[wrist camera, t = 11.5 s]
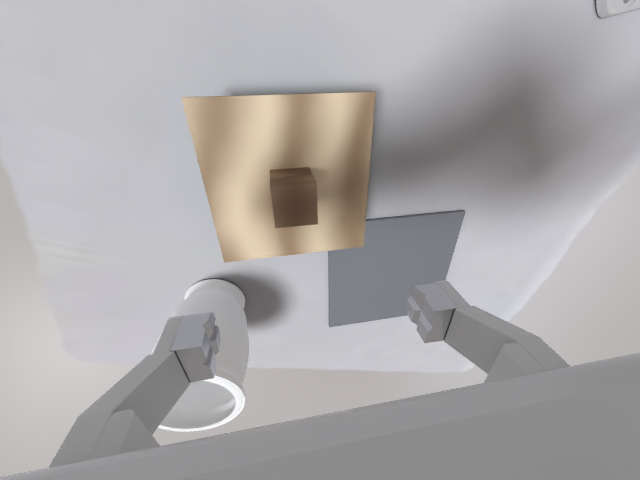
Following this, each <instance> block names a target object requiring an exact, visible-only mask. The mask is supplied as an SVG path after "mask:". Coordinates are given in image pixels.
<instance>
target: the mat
mask: <svg viewBox="0 0 640 480" xmlns="http://www.w3.org/2000/svg"><path fill="white" fill-rule="evenodd" d="M464 215H465V211H464V210H458V211H448V212H438V213H427V214H417V215H407V216H397V217H387V218H376V219H366V221H365V234H364V247H356V248H348V249H339V250H330V251H328V256H329V327H334V326H340V325H347V324H353V323H360V322H366V321H373V320H380V319H386V318H393V317H399V316H406V315H408V313H407V307H406V304H407V299H408V298H409V297H410V296H411V295H410V293H409V289H410V287H411V285H415V284H422V283H429V282H435V281H442V280H445V279H446V276H447V272H448V269H449V266H450V262H451V259H452V255H453V252H454V249H455V245H456V242H457V238H458V235H459V232H460V228H461V225H462V221H463V218H464Z"/></svg>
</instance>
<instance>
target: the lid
mask: <svg viewBox="0 0 640 480" xmlns="http://www.w3.org/2000/svg"><path fill="white" fill-rule="evenodd" d="M375 94H376V92H347V93H313V94H279V95H245V96H210V97H183V98H182V101H183V105H184V109H185V113H186V117H187V120H188V124H189V128H190V132H191V136H192V140H193V143H194V147H195V151H196V155H197V159H198V163H199V166H200V170H201V174H202V178H203V182H204V186H205V190H206V193H207V197H208V201H209V205H210V209H211V213H212V216H213V220H214V224H215V228H216V232H217V236H218V239H219V243H220V247H221V251H222V255H223V259H224V262H232V261H241V260H250V259H259V258H267V257H276V256H285V255H294V254H303V253H312V252H321V251H330V250H339V249H348V248H356V247H364V234H365V221H366V209H367V196H368V183H369V170H370V157H371V145H372V132H373V119H374V106H375Z"/></svg>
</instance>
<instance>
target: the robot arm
mask: <svg viewBox="0 0 640 480" xmlns="http://www.w3.org/2000/svg"><path fill="white" fill-rule="evenodd" d="M596 8H597V13H598V16H599V17H601V18H606V17H610V16H614V15H618V14H622V13H625V12H629V11H633V10H637V9H640V0H596ZM409 293H410V295H411V296H410V297H409V298H408V299H407V304H406V307H407V313H408V315H409V318H410V319H411V321H412V322H413V323H415V324H417V325H418V326H417V331H418V333H419V334H420V336H421V338H422V339H423V341H424V343H429V342H436V341H443V340H444V342H446V343H447V344H448V345H450V346H451V347H452V348H454V349H455V350H456V351H458V352H459V353H460V354H462V355H463V356H465V357H466V358H467V359H469V360H470V361H471V362H473V363H474V364H475V365H477V366H478V367H480V368H481V369H482V370H484V371H485V372H486V373H487V374H488V375H487V377H486V379H485V381H484V383H482V384H477V385H472V386H467V387H462V388H456V389H451V390H446V391H441V392H436V393H431V394H426V395H420V396H415V397H411V398H405V399H400V400H395V401H390V402H384V403H379V404H374V405H370V406H365V407H359V408H354V409H349V410H344V411H339V412H333V413H328V414H323V415H318V416H313V417H308V418H303V419H298V420H293V421H287V422H282V423H277V424H272V425H267V426H261V427H256V428H251V429H246V430H241V431H236V432H231V433H225V434H220V435H215V436H210V437H205V438H200V439H195V440H189V441H184V442H179V443H174V444H169V445H164V446H160V445H159V443H158V442H157V441H156V440H155V438H154V437H153V436H152V434H153V433H154V432H155V430H156V429H157V428H158V426H159V425H160V424H161V422H162V421H163V420H164V418H165V417H166V416H167V414H168V413H169V412H170V410H171V409H172V408H173V406H174V405H175V404H176V402H177V401H178V400H179V398H180V397H181V396H182V394H183V393H184V392H185V390H186V389H187V388H188V386H189V385H190V383H192V382H197V381H202V380H207V379H212V378H214V376H215V371H216V366H217V359H216V357H215V355H216V354H217V353H218V352H219V350H220V340H221V336H220V330H219V327H218V326H217V325H215V320H216V318H215V316H214V313H213V312H207V313H198V314H189V315H183V316H174V317H170V318H169V319H168V321H167V323H166V325H165V328H164V330H163V332H162V334H161V337H160V339H159V341H158V344H157V346H156V348H155V350H154V353H153V354H152V355H148V356H147V357H146V358H145V359H143V360H142V361H141V362H140V363H139V364H138V365H137V366H135V367H134V368H133V369H132V370H131V371H130V372H129V373H128V374H126V375H125V376H124V377H123V378H122V379H121V380H120V381H118V382H117V383H116V384H115V385H114V386H113V387H112V388H111V389H110V390H108V391H107V392H106V393H105V394H104V395H103V396H101V397H100V398H99V399H98V400H97V401H96V402H95V403H93V404H92V405H91V406H90V407H89V408H88V409H87V410H85V411H84V412H83V413H82V414H81V415H80V416H79V417H78V418H77V420H76V422H75V423H74V425H73V427H72V428H71V430H70V432H69V434H68V435H67V437H66V439H65V440H64V442H63V444H62V446H61V447H60V449H59V451H58V452H57V454H56V456H55V457H54V459H53V461H52V463H51V464H50V466H49V468H45V469H40V470H35V471H29V472H24V473H19V474H14V475H9V476H4V477H0V480H640V353H636V354H631V355H626V356H621V357H616V358H611V359H605V360H600V361H595V362H590V363H585V364H580V365H575V366H570V365H568V364H567V363H566V362H565V361H564V360H563V359H562V358H561V357H560V356H559V355H558V354H557V353H556V352H555V351H554V350H553V349H551V348H550V347H549V346H548V345H547V344H546V343H545V342H544V341H543V340H542V339H541V338H539V337H538V336H536V335H534V334H532V333H529V332H527V331H525V330H523V329H521V328H519V327H517V326H515V325H513V324H510V323H509V322H506V321H504V320H502V319H500V318H498V317H496V316H494V315H492V314H490V313H488V312H486V311H483V310H481V309H479V308H477V307H475V306H470V305H469V304H468V303H467V302H466V301H465V300H464V299H463V297H462V296H461V295H460V294H459V293H458V292H457V291H456V290H455V289H454V288H453V286H452V285H451V284H450V283H449V282H448V281H446V280H442V281H435V282H429V283H422V284H415V285H411V287H410V289H409Z"/></svg>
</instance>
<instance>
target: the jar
mask: <svg viewBox="0 0 640 480" xmlns="http://www.w3.org/2000/svg"><path fill="white" fill-rule="evenodd" d="M244 307H245V297H244V295H243V293H242V291H241V290H240V289H239V288H238V287H237V286H235V285H234V284H232V283H230V282H227V281H224V280H218V279H208V280H203V281H200V282H197V283H195V284H194V285H192V286H191V287H190V288H189V289H188V290H187V292H186V294H185V298H184V301H183V302H182V303H181V304H180V305H179V306H178V308H177V309H176V310H175V312H174V313H173V315H172V316H171V317H174V316H183V315H189V314H198V313H207V312H213V313H214V316H215V318H216V320H215V325H217V326H218V327H219V330H220V336H221V340H220V350H219V352H218V353H217V354H216V355H215V357H216V359H217V366H216V371H215V376H214V378H212V379H207V380H202V381H197V382H192V383H190V385H189V386H188V388H187V389H186V390H185V392H184V393H183V394H182V396H181V397H180V398H179V400H178V401H177V402H176V404H175V405H174V406H173V408H172V409H171V410H170V412H169V413H168V414H167V416H166V417H165V418H164V420H163V421H162V422H161V424H160V425H159V426H158V428H161V429H165V430H171V431H198V430H205V429H210V428H214V427H217V426H220V425H222V424H224V423H226V422H228V421H230V420H232V419H233V418H234V417H236V416H237V415H238V414H239V413H240V412H241V410H242V409H243V407H244V403H245V390H244V387H243V385H242V383H243V380H244V377H245V373H246V368H247V363H248V355H249V338H248V330H247V321H246V316H245V312H244ZM164 328H165V326H164ZM164 328H163V329H162V331H161V333H160V334H159V336H158V338H157V340H156V342H155V345H154V347H153V350H152V352H151V355H152V354H153V353H154V350H155V348H156V346H157V344H158V341H159V339H160V337H161V334H162V332H163V330H164Z"/></svg>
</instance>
